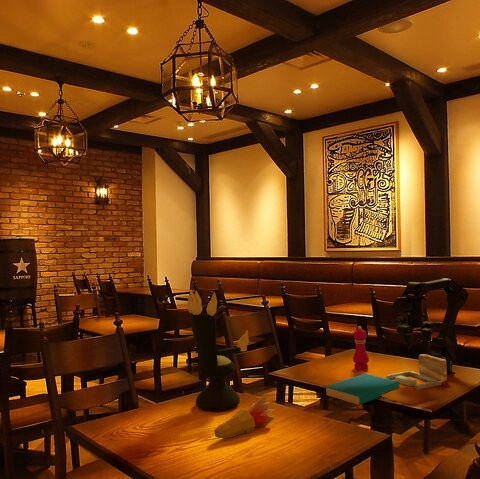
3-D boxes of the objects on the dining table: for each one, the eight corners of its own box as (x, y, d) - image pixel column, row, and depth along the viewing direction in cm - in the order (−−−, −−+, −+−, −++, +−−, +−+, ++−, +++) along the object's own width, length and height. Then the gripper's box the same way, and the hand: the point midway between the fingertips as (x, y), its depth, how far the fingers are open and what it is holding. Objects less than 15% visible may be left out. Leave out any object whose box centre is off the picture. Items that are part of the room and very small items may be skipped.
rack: (409, 377, 210) (409, 370, 210) (441, 387, 194) (441, 380, 194) (386, 382, 204) (386, 375, 204) (417, 393, 189) (416, 385, 189)
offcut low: (400, 384, 203) (400, 379, 203) (419, 390, 194) (419, 385, 194) (393, 385, 201) (393, 381, 201) (412, 392, 192) (412, 387, 192)
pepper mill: (371, 367, 228) (369, 325, 228) (366, 371, 222) (364, 327, 222) (356, 365, 232) (354, 324, 232) (351, 369, 226) (349, 326, 226)
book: (325, 386, 191) (364, 372, 207) (325, 397, 191) (365, 382, 207) (360, 396, 178) (399, 380, 193) (360, 407, 178) (400, 391, 193)
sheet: (424, 377, 210) (423, 354, 210) (447, 384, 199) (446, 359, 199) (419, 378, 209) (418, 355, 209) (441, 385, 198) (440, 360, 198)
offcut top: (400, 380, 202) (400, 375, 202) (416, 384, 195) (416, 379, 195) (395, 381, 200) (394, 376, 200) (410, 386, 194) (410, 381, 194)
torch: (216, 453, 151) (269, 420, 168) (230, 448, 145) (283, 414, 163) (205, 428, 153) (258, 398, 170) (218, 422, 148) (272, 391, 165)
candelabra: (252, 402, 186) (248, 285, 186) (218, 421, 167) (214, 291, 167) (213, 394, 196) (209, 284, 196) (177, 412, 177) (172, 289, 177)
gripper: (416, 307, 221) (417, 341, 221) (386, 311, 212) (387, 347, 212) (436, 310, 211) (437, 346, 211) (406, 314, 202) (407, 351, 202)
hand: (417, 347), depth 209 cm, fingers open, 9 cm apart
